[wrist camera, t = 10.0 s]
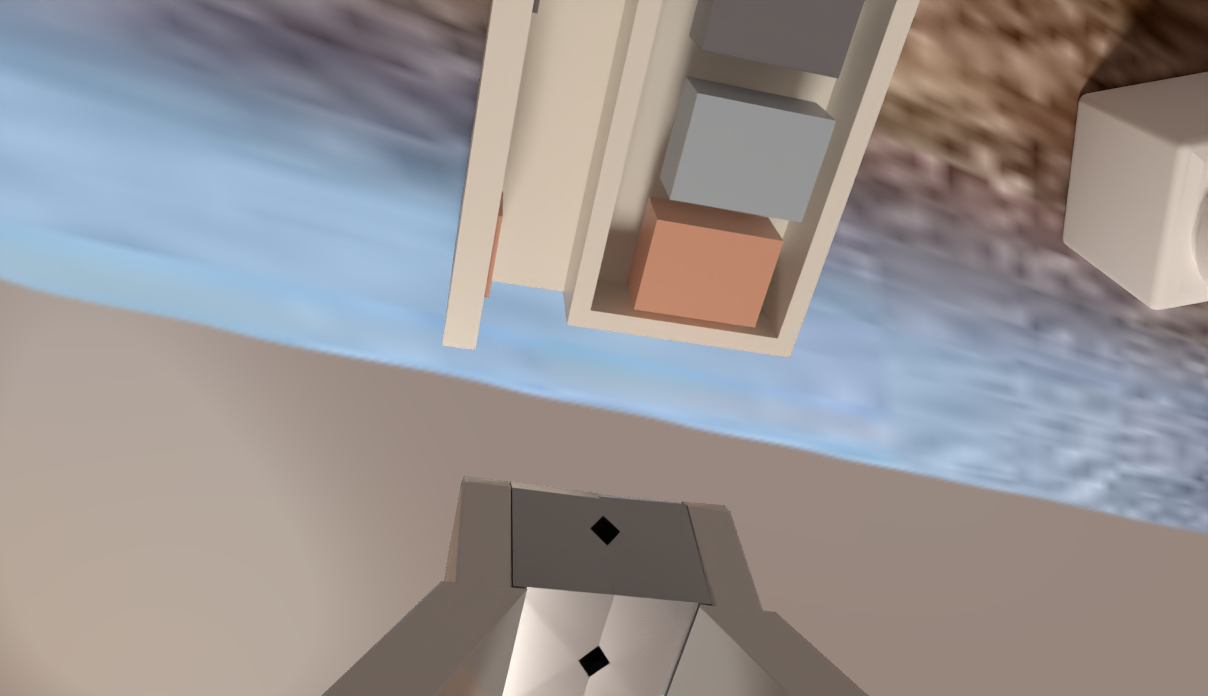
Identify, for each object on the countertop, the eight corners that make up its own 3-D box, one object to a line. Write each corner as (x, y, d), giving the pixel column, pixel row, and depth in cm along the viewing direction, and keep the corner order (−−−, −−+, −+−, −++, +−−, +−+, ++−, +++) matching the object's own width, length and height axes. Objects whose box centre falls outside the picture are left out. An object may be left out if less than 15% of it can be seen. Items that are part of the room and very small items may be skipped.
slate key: (659, 176, 34) (669, 199, 32) (685, 75, 32) (697, 93, 30) (784, 199, 35) (801, 222, 33) (816, 102, 33) (836, 120, 31)
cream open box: (453, 255, 40) (442, 345, 33) (518, -183, 32) (520, -185, 25) (761, 303, 42) (810, 396, 35) (892, -89, 34) (989, -68, 27)
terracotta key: (627, 282, 37) (633, 309, 35) (648, 196, 35) (657, 219, 33) (741, 300, 38) (754, 327, 36) (768, 217, 36) (783, 241, 34)
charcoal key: (689, 35, 32) (701, 49, 30) (717, -79, 31) (732, -72, 29) (817, 63, 33) (838, 78, 31) (852, -46, 32) (877, -37, 29)
